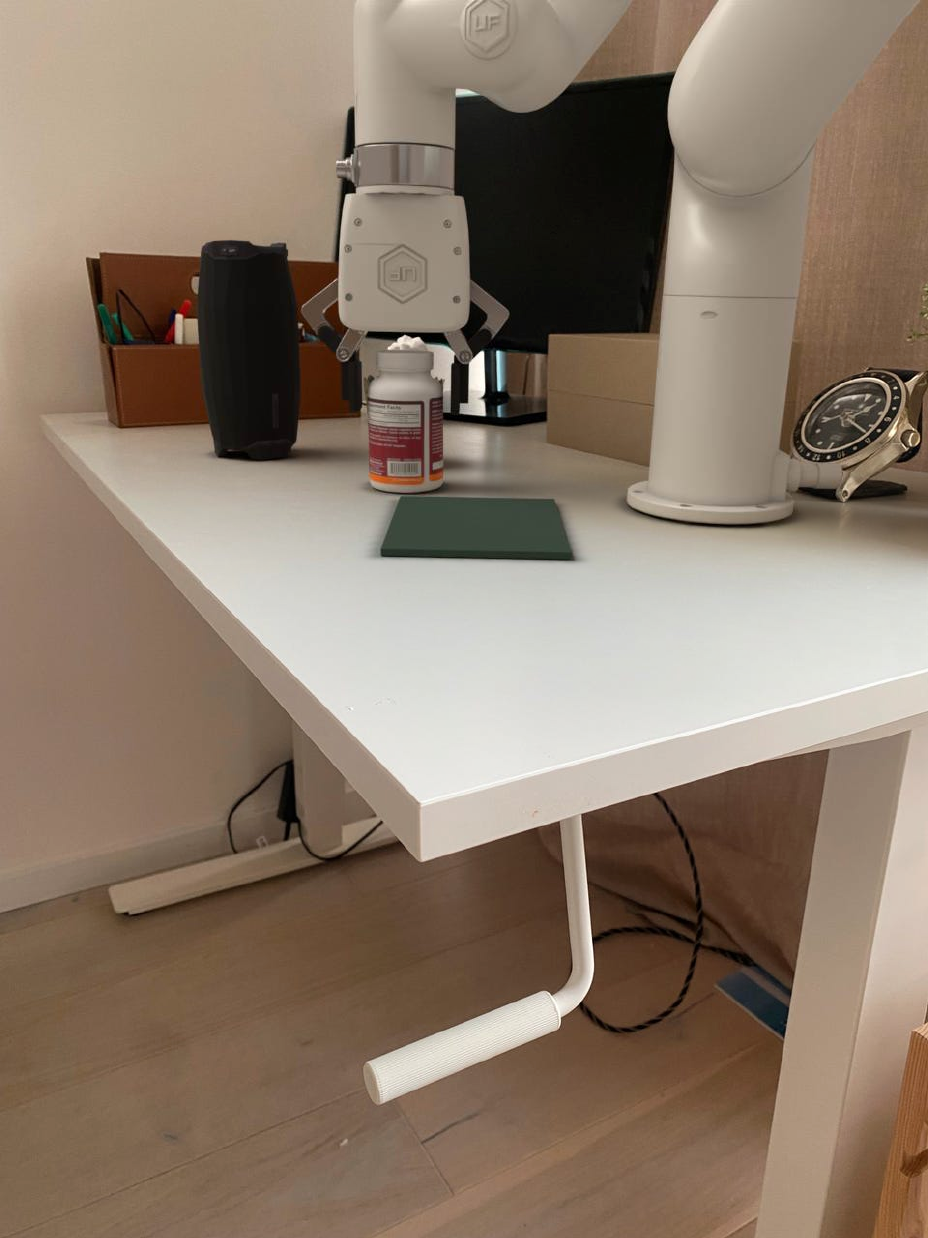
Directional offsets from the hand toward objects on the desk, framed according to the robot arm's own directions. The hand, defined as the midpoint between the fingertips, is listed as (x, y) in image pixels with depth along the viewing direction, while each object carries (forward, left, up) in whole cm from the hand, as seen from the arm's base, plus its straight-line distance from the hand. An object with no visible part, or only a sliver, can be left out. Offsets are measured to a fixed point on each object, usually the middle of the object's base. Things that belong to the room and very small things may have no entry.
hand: (405, 410), depth 80 cm
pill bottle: (0, 0, -6) cm, 6 cm away
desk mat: (-6, +14, -6) cm, 16 cm away
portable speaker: (+16, -15, -6) cm, 23 cm away
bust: (+4, -40, -6) cm, 41 cm away
